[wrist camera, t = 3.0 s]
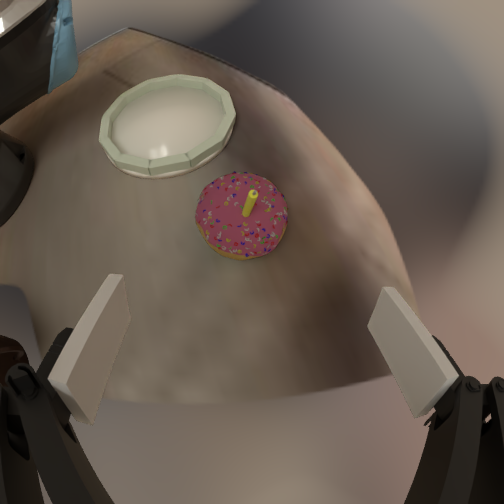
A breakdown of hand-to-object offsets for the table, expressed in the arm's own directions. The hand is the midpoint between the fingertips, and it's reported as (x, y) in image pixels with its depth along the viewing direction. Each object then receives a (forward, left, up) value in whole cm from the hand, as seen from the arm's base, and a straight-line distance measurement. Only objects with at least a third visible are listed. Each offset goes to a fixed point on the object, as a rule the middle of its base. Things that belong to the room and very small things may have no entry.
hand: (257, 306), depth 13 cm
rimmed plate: (-17, +21, -14) cm, 30 cm away
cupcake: (-3, +9, -14) cm, 17 cm away
